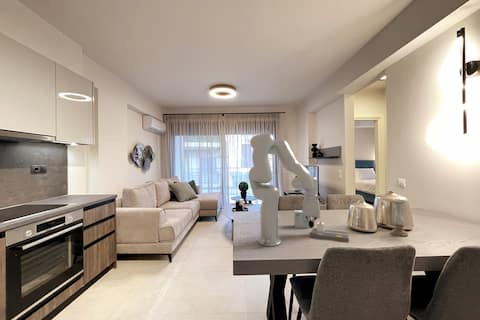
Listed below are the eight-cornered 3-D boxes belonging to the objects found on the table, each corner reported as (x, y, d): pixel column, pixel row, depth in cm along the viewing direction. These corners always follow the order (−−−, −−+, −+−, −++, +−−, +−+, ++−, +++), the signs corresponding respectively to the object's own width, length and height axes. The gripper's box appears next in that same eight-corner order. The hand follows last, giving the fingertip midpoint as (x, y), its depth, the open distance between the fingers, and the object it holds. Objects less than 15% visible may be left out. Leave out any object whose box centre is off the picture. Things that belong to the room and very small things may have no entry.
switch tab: (324, 232, 134) (323, 223, 134) (316, 232, 135) (316, 222, 135) (324, 231, 137) (324, 221, 137) (317, 230, 139) (317, 221, 139)
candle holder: (387, 233, 139) (386, 200, 139) (395, 231, 143) (394, 198, 143) (402, 237, 131) (402, 202, 131) (411, 235, 135) (410, 200, 135)
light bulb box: (309, 225, 158) (309, 210, 158) (311, 228, 151) (311, 212, 152) (293, 225, 159) (293, 209, 159) (295, 228, 152) (295, 211, 153)
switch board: (348, 242, 125) (348, 236, 125) (310, 237, 133) (310, 232, 133) (348, 235, 136) (348, 230, 136) (313, 231, 144) (313, 226, 144)
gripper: (324, 197, 139) (324, 227, 139) (299, 196, 145) (299, 224, 145) (323, 199, 132) (324, 230, 132) (297, 197, 138) (297, 227, 138)
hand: (311, 227), depth 139 cm, fingers closed
